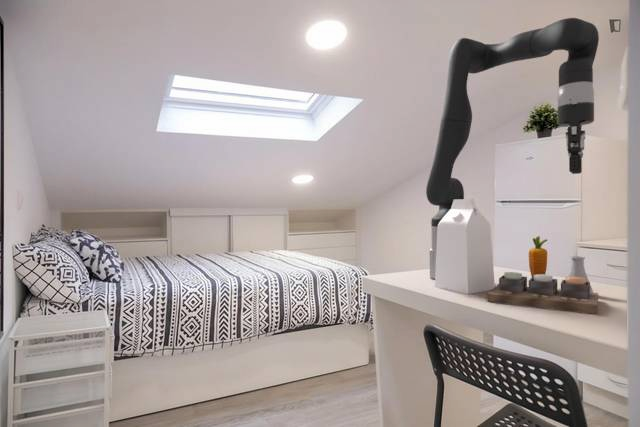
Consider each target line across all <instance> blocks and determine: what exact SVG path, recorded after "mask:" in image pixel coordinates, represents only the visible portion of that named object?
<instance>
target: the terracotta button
mask: <svg viewBox="0 0 640 427" xmlns="http://www.w3.org/2000/svg"><path fill="white" fill-rule="evenodd" d="M565 280H566V284H576V285H586V279H585V278H582V277H569V276H565Z"/></svg>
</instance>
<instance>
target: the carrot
mask: <svg viewBox="0 0 640 427" xmlns="http://www.w3.org/2000/svg"><path fill="white" fill-rule="evenodd" d="M540 238H541V237H540V236H539V235H537V236H536V237H533V238H532V242H533V244H534V247H532V248H530V249H529V251H528V262H529V264H528V265H529V270H530V271H529V272H530V276H531V278H532V277H534V275H536V274H544V275H546V272H547V266H548V251H547V249H546V248H542V245H543V244H544V243H545V242H547V241H548V239H547V238H545V239H543V240H540Z"/></svg>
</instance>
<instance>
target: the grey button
mask: <svg viewBox="0 0 640 427" xmlns="http://www.w3.org/2000/svg"><path fill="white" fill-rule="evenodd" d="M553 279H554V278H553V275H550V274H545V275H544V274H536V275H534V281H540V282H552V283H553Z"/></svg>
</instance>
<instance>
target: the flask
mask: <svg viewBox="0 0 640 427" xmlns="http://www.w3.org/2000/svg"><path fill="white" fill-rule="evenodd" d="M570 259H571V261H572V265H571V270H570V273H569V275H568V277H582V278H585V279H586V281H587V282H590V281H589V278H588V276H587V273H586V269H585V262H584V261H585V259H586V257H585V256H583V255H582V256H581V255H573V256H570ZM590 292H593V293H595V292H594V289H593V287H592V285H591V284H590Z"/></svg>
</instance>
